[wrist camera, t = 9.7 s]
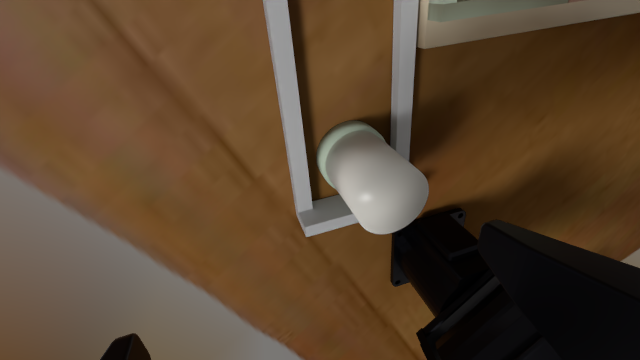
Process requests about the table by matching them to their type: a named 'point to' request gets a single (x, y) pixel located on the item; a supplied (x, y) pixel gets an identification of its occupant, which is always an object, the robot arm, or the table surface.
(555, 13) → the board
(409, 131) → the feeder lane
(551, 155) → the table surface
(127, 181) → the table surface
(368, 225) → the sage-banded sleeve
